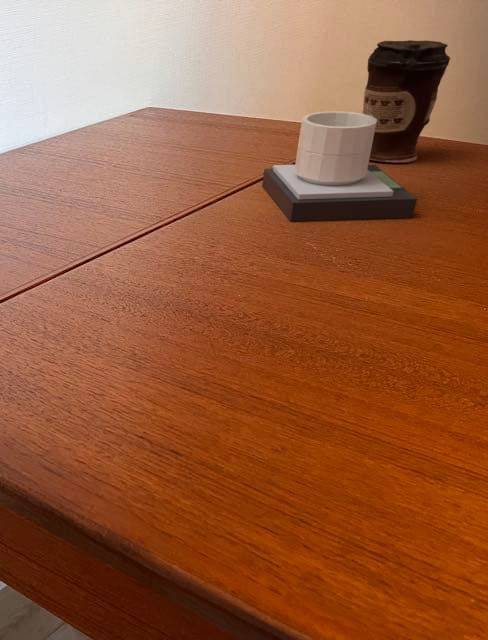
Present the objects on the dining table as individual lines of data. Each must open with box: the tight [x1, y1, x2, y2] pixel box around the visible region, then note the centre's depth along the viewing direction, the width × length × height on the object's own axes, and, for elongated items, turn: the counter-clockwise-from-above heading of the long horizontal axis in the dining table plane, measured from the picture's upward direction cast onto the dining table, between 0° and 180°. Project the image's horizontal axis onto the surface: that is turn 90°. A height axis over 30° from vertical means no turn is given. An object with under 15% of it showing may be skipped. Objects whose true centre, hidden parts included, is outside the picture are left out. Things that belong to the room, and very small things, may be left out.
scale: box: [261, 164, 418, 223], centre depth 91 cm, size 12×12×3 cm
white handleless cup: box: [294, 110, 377, 185], centre depth 89 cm, size 7×7×6 cm
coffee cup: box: [362, 39, 451, 164], centre depth 101 cm, size 9×8×13 cm
